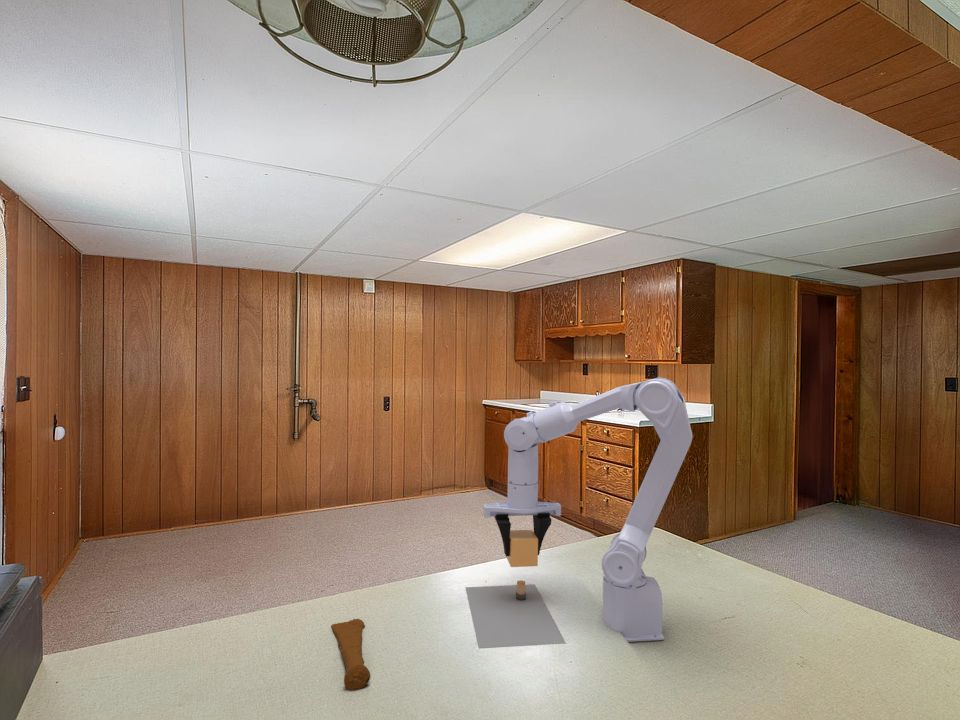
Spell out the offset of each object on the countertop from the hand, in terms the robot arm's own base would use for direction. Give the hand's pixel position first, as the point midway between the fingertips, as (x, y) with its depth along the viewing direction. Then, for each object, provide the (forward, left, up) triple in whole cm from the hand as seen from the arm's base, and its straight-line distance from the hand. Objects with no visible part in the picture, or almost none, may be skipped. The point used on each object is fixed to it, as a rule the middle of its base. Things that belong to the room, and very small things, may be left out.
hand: (521, 553), depth 95 cm
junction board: (+3, +5, -10) cm, 11 cm away
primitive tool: (+30, +12, -11) cm, 34 cm away
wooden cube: (0, 0, -1) cm, 1 cm away
